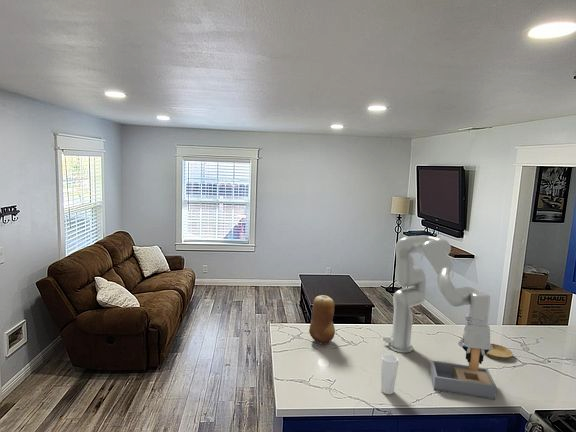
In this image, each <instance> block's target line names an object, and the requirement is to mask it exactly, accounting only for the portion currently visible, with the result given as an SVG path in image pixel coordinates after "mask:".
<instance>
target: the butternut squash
mask: <svg viewBox="0 0 576 432" xmlns="http://www.w3.org/2000/svg"><path fill="white" fill-rule="evenodd" d="M334 316H335V301H334V300H333V298H331V297H330V296H328V295H323V294H321V295H318V296H315V298H314V299H313V303H312V316H311V322H310V324H309V329H308V331H309V335H310V337H311V339H313V341H315V342H317V343H318V344H320V345H327V344H329V343H331V341H332V340H333V339H334V338H335V334H336V329H335V325H334V321H333V319H334Z"/></svg>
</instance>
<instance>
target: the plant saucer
mask: <svg viewBox="0 0 576 432" xmlns="http://www.w3.org/2000/svg"><path fill="white" fill-rule="evenodd" d="M491 345H492V347H493V350H491V351H488V352H487V353H486V354H485V355H486V356H488V357H490V358H492V359H495V360H508V359H510V357H512V356H513V351H511V349H509V348H507V347H506V346H502V345H499V344H496V343H491Z"/></svg>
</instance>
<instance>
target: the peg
mask: <svg viewBox="0 0 576 432" xmlns="http://www.w3.org/2000/svg"><path fill="white" fill-rule="evenodd" d="M470 354H471V357H470V362H468V365H467V366H468V368H469V369H470V370H473V371H478V369H479V367H480V364H479V359H480V349H475V348H471V350H470Z"/></svg>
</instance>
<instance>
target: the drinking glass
mask: <svg viewBox="0 0 576 432" xmlns="http://www.w3.org/2000/svg"><path fill="white" fill-rule="evenodd" d="M398 367H399V358H398V357H397V356H395V355H393V354H388V353H387V354H383V355H382V356H381V363H380V390H381V392H382V393H383V394H385V395H392V394H393V393H394V392H395V386H396V379H397V374H398Z"/></svg>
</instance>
